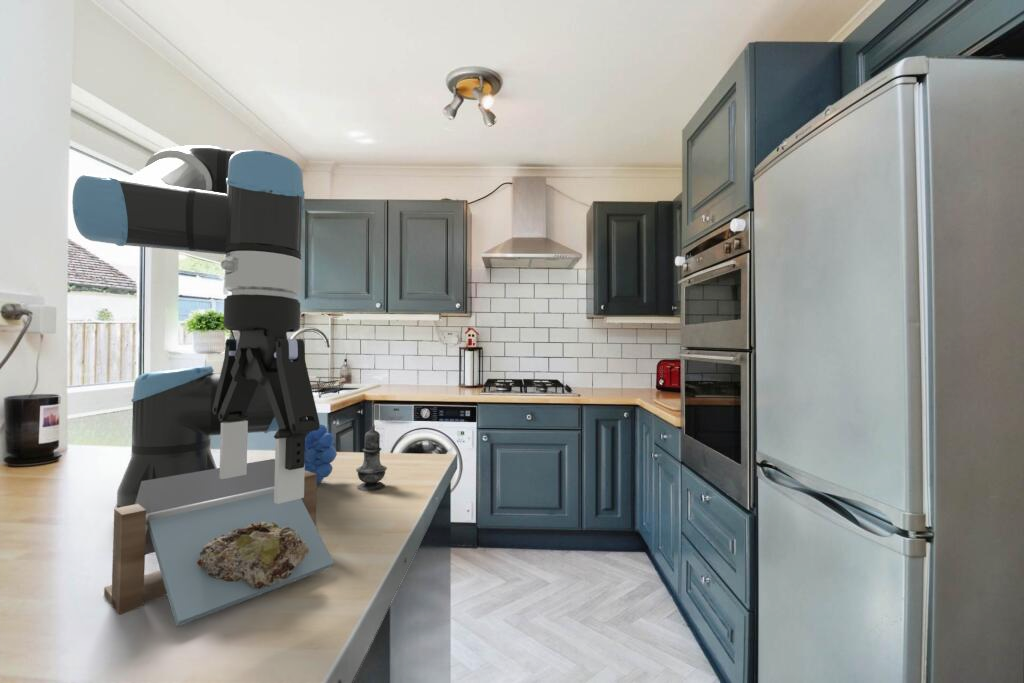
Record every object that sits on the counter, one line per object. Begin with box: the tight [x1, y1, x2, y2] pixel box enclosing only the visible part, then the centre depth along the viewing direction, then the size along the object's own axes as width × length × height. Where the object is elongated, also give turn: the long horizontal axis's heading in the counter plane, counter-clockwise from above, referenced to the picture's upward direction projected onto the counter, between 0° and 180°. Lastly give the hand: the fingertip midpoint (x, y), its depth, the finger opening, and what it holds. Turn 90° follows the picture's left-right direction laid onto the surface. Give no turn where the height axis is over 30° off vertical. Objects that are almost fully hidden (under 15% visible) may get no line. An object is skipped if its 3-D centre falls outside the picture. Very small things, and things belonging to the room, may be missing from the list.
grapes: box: [305, 424, 338, 485], centre depth 95 cm, size 12×7×12 cm, turn 53°
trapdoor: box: [135, 458, 335, 627], centre depth 56 cm, size 18×16×8 cm
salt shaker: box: [355, 425, 388, 492], centre depth 93 cm, size 6×6×12 cm
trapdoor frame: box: [103, 470, 318, 615], centre depth 58 cm, size 6×21×10 cm, turn 142°
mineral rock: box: [197, 521, 309, 589], centre depth 52 cm, size 11×4×8 cm
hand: (258, 487), depth 52 cm, fingers open, 13 cm apart
